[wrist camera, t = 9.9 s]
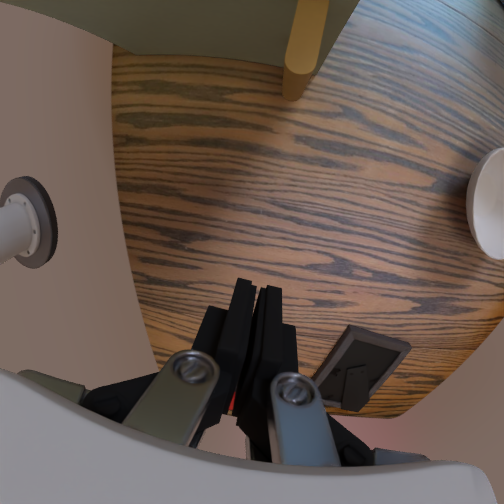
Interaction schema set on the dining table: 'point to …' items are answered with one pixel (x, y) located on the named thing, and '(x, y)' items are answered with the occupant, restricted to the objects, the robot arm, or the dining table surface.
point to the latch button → (232, 402)
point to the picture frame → (358, 367)
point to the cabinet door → (214, 29)
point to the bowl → (487, 204)
